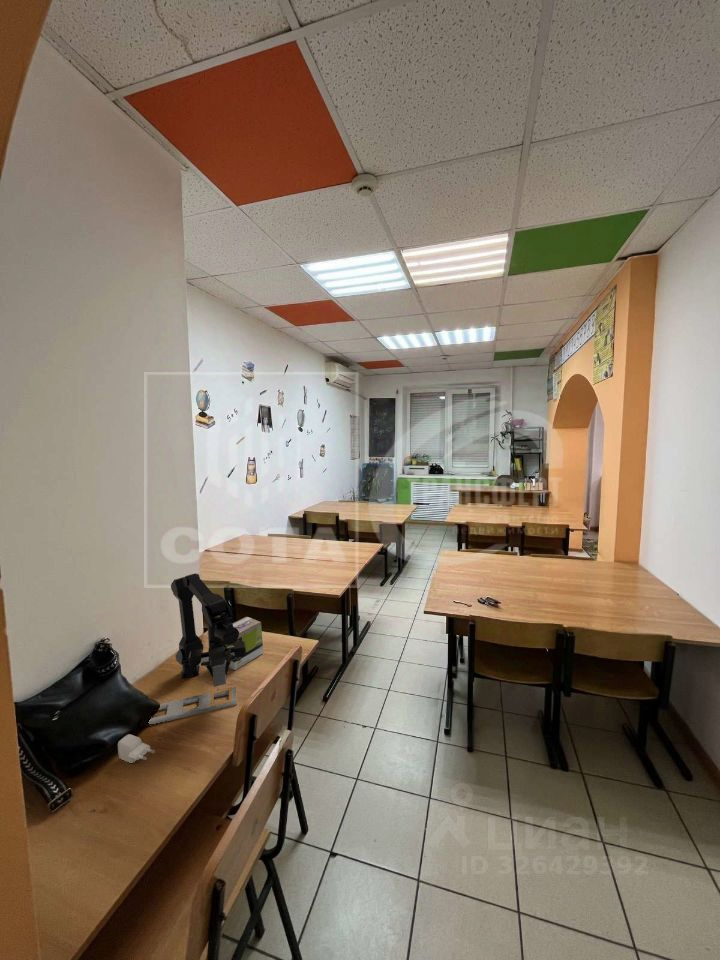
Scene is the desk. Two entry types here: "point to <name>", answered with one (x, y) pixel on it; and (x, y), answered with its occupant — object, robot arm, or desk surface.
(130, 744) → the power adapter
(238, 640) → the tea box
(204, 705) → the rail
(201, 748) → the desk surface
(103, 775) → the desk surface
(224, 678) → the nut block
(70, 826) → the desk surface
